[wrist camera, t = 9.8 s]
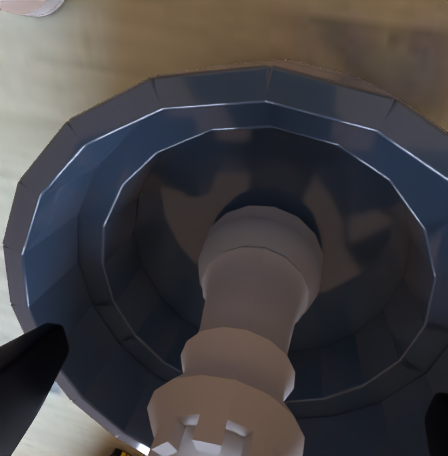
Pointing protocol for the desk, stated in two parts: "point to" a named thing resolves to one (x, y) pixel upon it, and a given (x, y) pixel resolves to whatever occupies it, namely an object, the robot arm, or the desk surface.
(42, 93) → the desk surface
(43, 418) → the desk surface
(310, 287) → the rook chess piece
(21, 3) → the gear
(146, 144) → the basin
